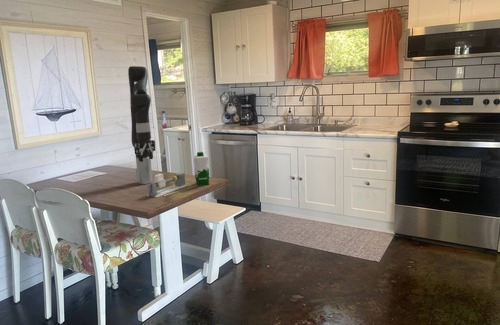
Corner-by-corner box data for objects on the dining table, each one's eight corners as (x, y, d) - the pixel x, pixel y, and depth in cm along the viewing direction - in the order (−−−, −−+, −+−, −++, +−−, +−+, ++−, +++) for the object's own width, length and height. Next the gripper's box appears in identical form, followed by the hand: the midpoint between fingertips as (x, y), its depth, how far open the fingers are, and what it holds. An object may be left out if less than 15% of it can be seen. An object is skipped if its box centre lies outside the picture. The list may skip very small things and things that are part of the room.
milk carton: (208, 181, 255) (206, 151, 250) (210, 184, 246) (208, 153, 242) (194, 182, 252) (192, 152, 248) (196, 186, 244) (194, 154, 240)
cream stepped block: (159, 189, 227) (158, 176, 225) (153, 188, 229) (152, 175, 227) (165, 187, 231) (164, 174, 229) (159, 186, 233) (158, 173, 232)
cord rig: (157, 197, 223) (155, 184, 221) (146, 196, 227) (145, 182, 225) (187, 186, 245) (186, 173, 244) (177, 184, 249) (176, 172, 248)
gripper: (147, 129, 223) (150, 157, 226) (128, 132, 211) (131, 162, 214) (157, 129, 219) (160, 158, 223) (138, 132, 207) (141, 163, 211)
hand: (146, 160), depth 219 cm, fingers open, 7 cm apart
